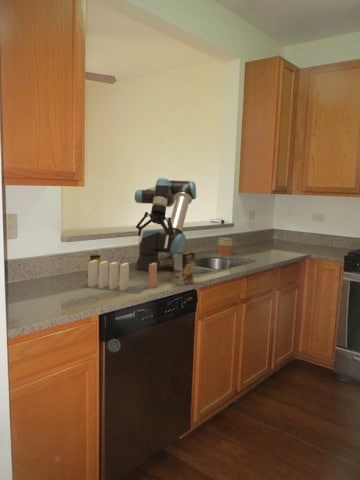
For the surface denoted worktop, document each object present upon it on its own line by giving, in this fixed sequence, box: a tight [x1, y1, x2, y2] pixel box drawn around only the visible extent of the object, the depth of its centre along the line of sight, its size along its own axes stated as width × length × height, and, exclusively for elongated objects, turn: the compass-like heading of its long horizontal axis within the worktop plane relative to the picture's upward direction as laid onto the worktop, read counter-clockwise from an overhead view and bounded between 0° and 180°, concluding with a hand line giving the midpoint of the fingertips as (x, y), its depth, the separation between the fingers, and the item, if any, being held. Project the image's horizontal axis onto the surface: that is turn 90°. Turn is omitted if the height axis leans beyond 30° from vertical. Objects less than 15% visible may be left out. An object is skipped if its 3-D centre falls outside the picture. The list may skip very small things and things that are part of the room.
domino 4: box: [119, 262, 130, 291], centre depth 186 cm, size 2×6×12 cm, turn 163°
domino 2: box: [98, 260, 109, 288], centre depth 190 cm, size 2×6×12 cm, turn 162°
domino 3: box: [108, 261, 119, 289], centre depth 188 cm, size 2×6×12 cm, turn 163°
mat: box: [80, 283, 148, 295], centre depth 189 cm, size 11×30×1 cm, turn 73°
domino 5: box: [147, 263, 158, 289], centre depth 193 cm, size 2×6×12 cm, turn 162°
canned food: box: [216, 237, 234, 256], centre depth 299 cm, size 11×11×12 cm
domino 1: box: [87, 260, 98, 287], centre depth 191 cm, size 2×6×12 cm, turn 162°
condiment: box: [88, 253, 102, 270], centre depth 211 cm, size 7×8×12 cm
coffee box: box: [172, 250, 196, 286], centre depth 205 cm, size 9×6×16 cm
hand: (152, 245), depth 202 cm, fingers open, 13 cm apart
